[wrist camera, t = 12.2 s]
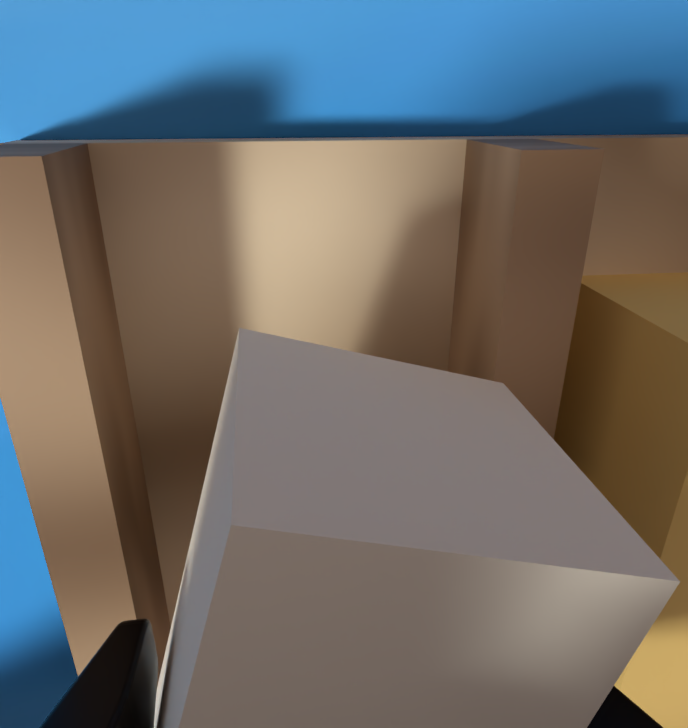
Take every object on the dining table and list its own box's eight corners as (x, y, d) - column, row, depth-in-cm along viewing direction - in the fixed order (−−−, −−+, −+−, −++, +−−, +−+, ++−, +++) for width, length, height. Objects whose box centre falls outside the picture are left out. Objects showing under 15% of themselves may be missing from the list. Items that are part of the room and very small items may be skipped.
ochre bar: (660, 573, 15) (790, 723, 11) (513, 589, 14) (600, 752, 11) (755, 270, 12) (981, 347, 8) (568, 276, 11) (721, 361, 8)
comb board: (700, 609, 17) (785, 704, 14) (135, 680, 15) (110, 809, 12) (866, 132, 12) (1052, 143, 9) (17, 140, 10) (-75, 157, 7)
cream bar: (354, 733, 12) (401, 1017, 8) (148, 725, 11) (98, 1043, 7) (502, 383, 9) (679, 582, 5) (239, 327, 8) (231, 524, 4)
